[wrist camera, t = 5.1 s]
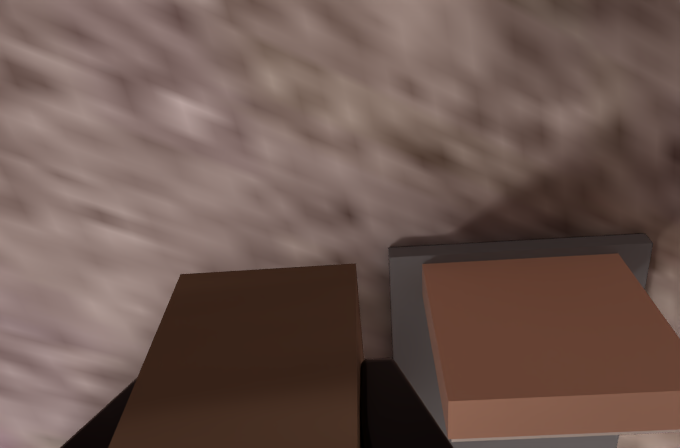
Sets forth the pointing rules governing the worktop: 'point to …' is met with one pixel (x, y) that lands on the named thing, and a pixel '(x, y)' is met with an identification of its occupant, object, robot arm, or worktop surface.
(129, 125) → the worktop surface
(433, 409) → the slate mat
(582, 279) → the glazed tile
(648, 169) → the worktop surface
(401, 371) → the robot arm
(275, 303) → the walnut turner
